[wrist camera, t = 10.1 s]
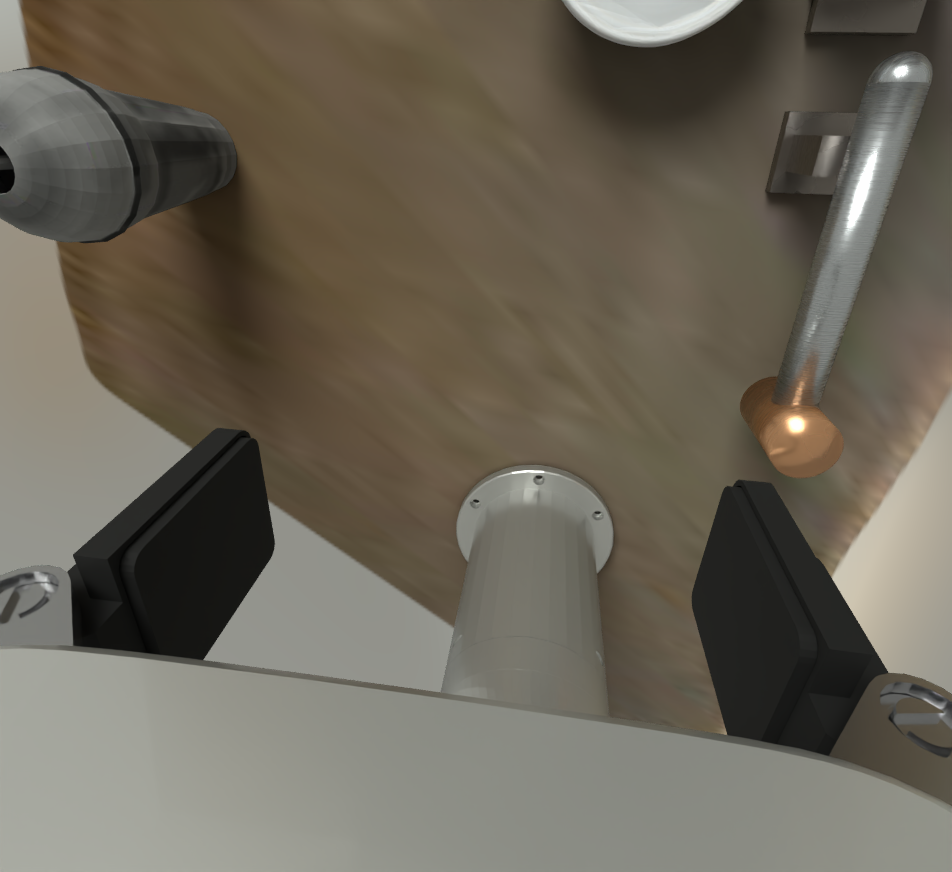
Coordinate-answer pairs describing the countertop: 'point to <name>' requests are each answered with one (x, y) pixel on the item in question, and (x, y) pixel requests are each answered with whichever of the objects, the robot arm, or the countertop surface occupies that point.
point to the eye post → (865, 17)
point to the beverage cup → (99, 156)
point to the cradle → (810, 152)
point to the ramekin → (649, 19)
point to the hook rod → (838, 272)
